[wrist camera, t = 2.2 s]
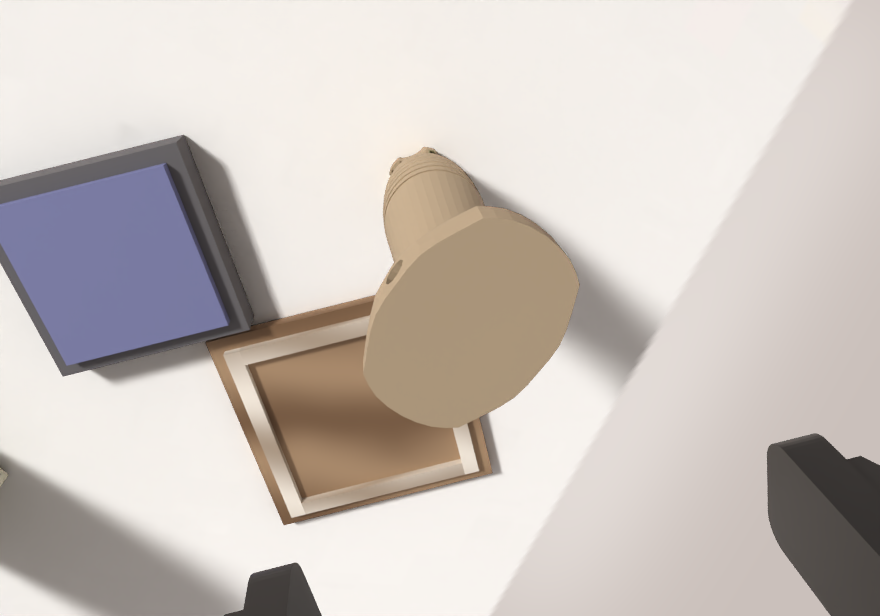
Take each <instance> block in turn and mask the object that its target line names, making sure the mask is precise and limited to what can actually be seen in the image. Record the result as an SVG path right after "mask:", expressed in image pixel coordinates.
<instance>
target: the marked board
mask: <svg viewBox="0 0 880 616" xmlns="http://www.w3.org/2000/svg"><path fill="white" fill-rule="evenodd" d="M374 298H375V295H374V296H370V297H366V298H362V299H358V300H354V301H350V302H346V303H342V304H338V305H334V306H330V307H326V308H322V309H318V310H314V311H310V312H306V313H302V314H298V315H294V316H290V317H286V318H282V319H278V320H274V321H270V322H266V323H262V324H258V325H254V326H251V327H250V330H247V331H243V332H239V333H235V334H231V335H227V336H223V337H219V338H215V339H211V340H207V341H206V345H207V348H208V350H209V352H210V355H211V357H212V359H213V362H214V364H215V366H216V368H217V371H218V373H219V375H220V378H221V380H222V382H223V385H224V387H225V389H226V392H227V394H228V396H229V399H230V401H231V403H232V406H233V408H234V410H235V413H236V415H237V417H238V420H239V422H240V424H241V427H242V429H243V431H244V434H245V436H246V438H247V441H248V443H249V445H250V448H251V450H252V452H253V455H254V457H255V459H256V462H257V464H258V466H259V469H260V471H261V473H262V476H263V478H264V480H265V483H266V485H267V487H268V490H269V492H270V494H271V496H272V499H273V501H274V503H275V506H276V508H277V510H278V513H279V515H280V517H281V520H282V522H283V524H284V525H287V524H291V523H295V522H299V521H303V520H307V519H311V518H315V517H319V516H323V515H327V514H331V513H335V512H339V511H343V510H347V509H351V508H355V507H359V506H363V505H367V504H371V503H375V502H379V501H383V500H387V499H391V498H395V497H399V496H403V495H407V494H411V493H415V492H419V491H423V490H427V489H431V488H435V487H439V486H443V485H447V484H451V483H455V482H459V481H463V480H467V479H471V478H475V477H479V476H483V475H487V474H491V473H492V469H491V464H490V460H489V456H488V452H487V448H486V444H485V439H484V435H483V431H482V427H481V423H480V419H479V418H477V419H475V420H473V421H471V422H469V423H467V424H465V425H463V426H461V427H459V428H440V427H431V426H427V425H424V424H420V423H417V422H414V421H412V420H410V419H408V418H406V417H403V416H401V415H400V414H398V413H397V412H395V411H393V410H392V409H390V408H389V407H387V406H386V405H385V404H384V403H383V402H382V401H381V400H380V399H379V398H377V397H376V396H375V394H374V393H373V391H372V390H371V388H370V387H369V385H368V383H367V381H366V379H365V377H364V375H363V357H364V349H365V342H366V336H367V329H368V324H369V319H370V314H371V310H372V306H373V302H374Z"/></svg>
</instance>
